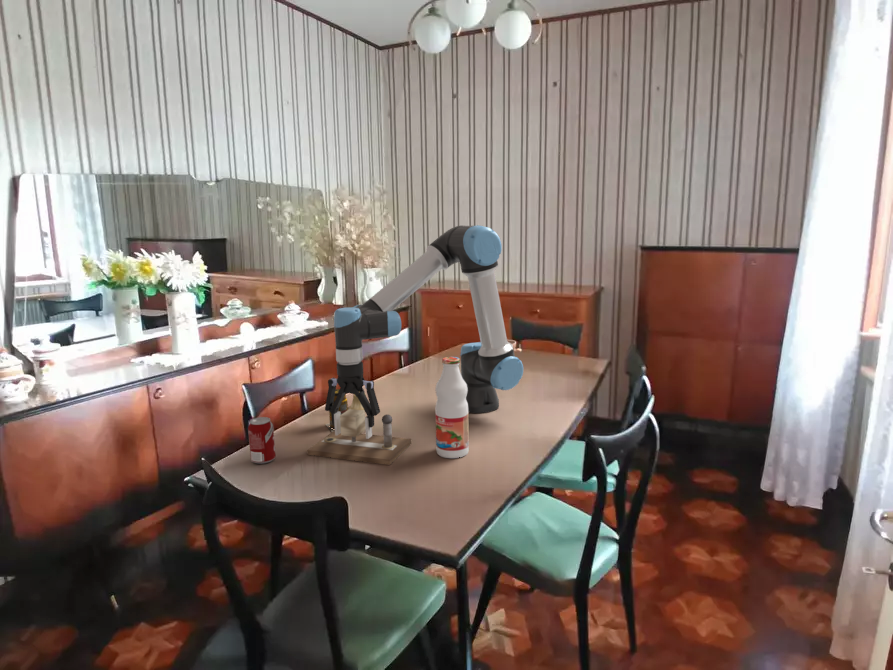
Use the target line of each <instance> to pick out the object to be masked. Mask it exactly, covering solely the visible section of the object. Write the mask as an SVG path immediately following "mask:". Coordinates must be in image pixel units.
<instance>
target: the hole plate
mask: <svg viewBox="0 0 893 670" xmlns="http://www.w3.org/2000/svg"><path fill="white" fill-rule="evenodd" d="M392 422H393V417H392V416H391V415H390V414H384V415H383V416H382V418H381V423H382V431H383V432H382V433H383V435H379V434H372V436H371V437H370V438H369V439H366V433H361V434H360V435H358V436H357V437H356V442H352V436H344V435H341V433H340V434H339V435H335V431H333V432H332V431H331V432H330V433H329V434H327V435H326V436H325V437H323V438H321V439H320V440H319V441H318V442H316V443H314V444H313V445H312V446H310V447H309V448H308V449H307V451H306V453H307V455H308V456H314V455H315V456H316V457H323V458H330V457H331V459H340V460H347V461H354V460H355V462H362V461H363V463H370V462H371V463H370V464H378V465H386V466H387V465H388V466H390V465H392V462H393V463H394V462H395V460H397V459H396V458H397V457H398V456H399V455H400V454H401V453H402V452H403V451H404V450H405V449H406V448H407V447H408V446H409V445H410V444H411V445H412V438H407V437H406V438H404V437H397V436H393V430H392V428H393V427H392ZM411 445H410V446H411ZM410 446H409V447H410ZM409 447H408V448H409ZM408 448H407V449H408ZM407 449H406V450H407ZM406 450H405V451H406ZM405 451H404V452H405ZM404 452H403V453H404ZM403 453H402V454H403ZM402 454H401V455H402ZM401 455H400V456H401ZM315 456H314V457H315ZM400 456H399V457H400ZM399 457H398V458H399Z"/></svg>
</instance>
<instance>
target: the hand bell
mask: <svg viewBox="0 0 893 670" xmlns="http://www.w3.org/2000/svg"><path fill="white" fill-rule="evenodd" d="M359 393H360V391H359ZM352 395H353V396H352V401H351V404H349V405H348V410H349V409H354V410H364V409H363V407H362V405H361V403H360V401H359V399H358V397H356V395H355V394H352ZM365 395H366V396H367V393H365Z"/></svg>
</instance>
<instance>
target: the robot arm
mask: <svg viewBox="0 0 893 670" xmlns="http://www.w3.org/2000/svg"><path fill="white" fill-rule="evenodd" d="M502 251H503V248H502V241H501V238H500V236H499V235H498V233H497V232H496V231H495V230H493V228H491V227H488V226H483V225H478V224H477V225H457V226H456V225H455V226H453V227H452V228H450V229H448V230H446V231H445V232H444V233H442V234H441V235H439V236H438V237H437V238H436V239H435V240H434V241H432V242H431V243H429V245H428V246H427V247H426V251H425V252H423V254H422V255H420V256H419V257H418V258H416V260H414V261H413V262H412V263H411V264H409V265H408V266H407V267H406V268H404V270H402V272H400V273H399V274H398V275H396V277H395V278H393V279H392V280H390V281H389V282H388V283H387V284H386V285H384V286H383V287H382V288H381V289H379V290H378V291H377V292H376V293H375V294H374V295H373V296H371V297H370V298H369V299H367V300H366V301H365V302H363V303H362V304H357V305H354V306H353V307H340V308H337V309H336V310H335V311H334V313H333V314H334V315H333V327H334V328H333V329H334V338H335V339H334V340H335V341H334V342H335V360H336V375H337V378H335V377H332V378H329V379H328V380H327V385H328V390H327V393H326V395H327V396H326V399H325V401H326V402H325V405H324V406H325V407H324V410H325V411H326V412H328V413H329V412H331V415H332V423H334V425H335V435H339V434H340V433H341V426H340V415H341V412H340V411H338V410H339V407H340V405H341V402H342V400H343V398H344V396H345V394H352V395H354V394H355V395H356V397H358V399H359V401H360V403H361V405H362V407H363V409H364V410H365V429H366V430H365V434H366V439H369V438H370V437H371V436H372V435H373V427H374V426H375V417H376V416H377V415H378V414H380V413H381V409H380V405H379V401H378V399H377V395H376V391H375V381H374V380H370V381H369V380H365V378H364V361H363V360H364V359H363V341H364V340H372V339H380V338H381V339H383V338H390V337H391V338H392V337H395V336H398V335H400V333H401V331H402V319H401V316H400V314H399V313H398V312H397V311H396V308H398V307H399V306H400V304H402V303H403V302H405V300H407V299H408V298H409V297H410V296H411V295H413V294H414V293H415V292H417V291H418V290H419V289H420V288H421V287H422V286H423V285H425V284H426V283H428V281H429V280H431V279H432V278H433V277H434V276H435V275H436V274H437V275H438V273H439V272H440V271H442V270H444V271H445V270H447V269H449V268H450V267H451V266H454V264H457V263H459V266H460V269H461V273H462V275H464V276H466V277H467V280H468V285H469V289H470V295H471V299H472V300H471V301H472V305H473V311H474V315H475V319H476V320H475V321H476V325H477V329H478V334H479V340H480V341H478V342H469V343H464V344H462V346H461V347H460V355H459V357H460V373H461V376H462V378H463V380H464V381H465V382H466V384H467V388H468V392H467V396H466V401H467V403H468V413H474V414H475V413H478V414H480V413H483V414H484V413H489V412H493V411H495V410H497V409H499V406H500V399H499V397H498V394H497V390H502V391H509V390H512V389H514V388H515V387H516V386H517V385H518V384H519V383H520V380H522V379H523V375H524V364H523V362H522V360H521V359H519V357H517V356H515V353H514V349H513V345H512V344H510V343H509V342H508V341H507V340H508V337H507V332H506V327H505V322H504V321H505V320H504V317H503V310H502V307H501V306H502V305H501V301H500V300H501V299H500V294H499V290H498V283H497V277H496V274H495V273H496V270H497V268H498V267H499V263H498V260H499V259H500V255H502ZM337 385H338V387H340V388H339V389H340V390H339V392H338V396H337V398H336V400H335V402H334V396H335V391H336V389H337ZM363 387H364V388H363ZM364 389H366V392H365V390H364ZM359 391H360V393H359ZM365 394H366V395H365ZM333 402H334V404H333ZM337 411H338V412H337Z"/></svg>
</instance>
